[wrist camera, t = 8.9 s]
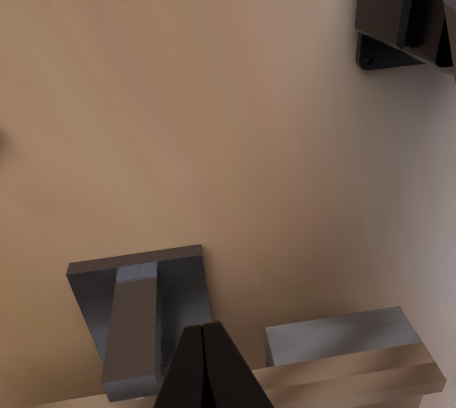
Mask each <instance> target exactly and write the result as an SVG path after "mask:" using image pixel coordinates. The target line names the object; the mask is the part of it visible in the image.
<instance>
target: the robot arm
mask: <svg viewBox="0 0 456 408" xmlns="http://www.w3.org/2000/svg"><path fill="white" fill-rule="evenodd" d="M355 28H356V29H357V30H358V31H359V32H358V42H357V52H356V63H357V65H358V66H359V67H360V68H362V69H364V70H375V69H383V68H392V67H400V66H409V65H417V64H428V65H430V66H432V67H435V68H437V69H439V70H441V71H444V72H446V73H448V74H450V75H452V76H455V80H456V0H357V10H356V20H355ZM369 54H370V55H371V58H370V60H369V61H368V62H367V63H364V59H365V57H366V56H367V55H369ZM153 408H275V407H274V406H273V404H272V403H271V401H270V399H269V398H268V396H267V395H266V393H265V392H264V390H263V388H262V387H261V385H260V384H259V382H258V380H257V379H256V377H255V376H254V374H253V372H252V371H251V369H250V368H249V366H248V365H247V363H246V361H245V360H244V358H243V357H242V355H241V353H240V352H239V350H238V349H237V347H236V345H235V344H234V342H233V341H232V339H231V338H230V336H229V334H228V333H227V331H226V330H225V328H224V326H223V325H222V323H221V322H220V321H212V322H205V323H204V324H203V326H202V325H201V324H193V325H187V326H185V327H184V328H183V330H182V333H181V335H180V338H179V340H178V343H177V346H176V348H175V351H174V353H173V356H172V359H171V361H170V364H169V366H168V369H167V372H166V374H165V377H164V380H163V382H162V385H161V387H160V390H159V393H158V395H157V398H156V400H155V403H154V406H153Z"/></svg>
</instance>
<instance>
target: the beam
mask: <svg viewBox="0 0 456 408" xmlns="http://www.w3.org/2000/svg"><path fill="white" fill-rule="evenodd" d="M265 343H266V368H260V369H254V370H251V371H252V372H253V374H254V376H255V377H256V379H257V380H258V382H259V384H260V385H261V387H262V388H263V390H264V392H265V393H266V395H267V396H268V398H269V399H270V401H271V403H272V404H273V406H274V407H275V408H418V407H419V404H420V401H421V399H422V396H423V395H425V394H431V393H437V392H442V390H443V388H444V385H445V383H446V378H445V377H444V375H443V374H442V372H441V371H440V369H439V367H438V366H437V364H436V363H435V361H434V360H433V358H432V357H431V355H430V353H429V352H428V350H427V349H426V347H425V346H424V344H423V343H422V341H421V339H420V338H419V336H418V335H417V333H416V332H415V330H414V329H413V327H412V325H411V324H410V322H409V321H408V319H407V318H406V316H405V315H404V313H403V311H402V310H401V308H400V307H399V306H398V307H392V308H385V309H379V310H373V311H366V312H360V313H353V314H347V315H340V316H334V317H328V318H321V319H315V320H308V321H302V322H296V323H289V324H283V325H276V326H270V327H265ZM160 387H161V386H160ZM156 398H157V395H152V396H146V397H140V398H134V399H128V400H122V401H117V402H111V403H110V402H109V400H108V398H107V396H106V394H101V395H95V396H88V397H82V398H76V399H70V400H64V401H58V402H52V403H45V404H39V405H33V406H27V407H21V408H153V406H154V403H155V400H156Z"/></svg>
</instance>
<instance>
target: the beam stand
mask: <svg viewBox="0 0 456 408" xmlns="http://www.w3.org/2000/svg"><path fill="white" fill-rule="evenodd" d="M66 276H67V278H68V281H69V283H70V285H71V288H72V290H73V293H74V295H75V297H76V300H77V302H78V305H79V307H80V309H81V312H82V314H83V316H84V319H85V321H86V324H87V326H88V328H89V331H90V333H91V335H92V338H93V340H94V343H95V345H96V347H97V350H98V352H99V354H100V357H101V359H102V362H103V364H104V367H103V373H102V380H101V384H102V387H103V389H104V391H105V393H106V396H107V398H108V400H109V402H110V403H111V402H117V401H122V400H128V399H134V398H140V397H146V396H152V395H158V393H159V390H160V386H161V385H162V382H163V380H164V377H165V374H166V372H167V369H168V366H169V364H170V361H171V359H172V356H173V353H174V351H175V348H176V346H177V343H178V340H179V338H180V335H181V333H182V330H183V328H184V327H185V326H187V325H193V324H201V325H202V326H203V324H204V323H205V322H212V318H211V311H210V305H209V298H208V291H207V284H206V278H205V271H204V264H203V257H202V251H201V244H200V245H193V246H186V247H179V248H172V249H166V250H159V251H152V252H145V253H138V254H131V255H124V256H117V257H110V258H103V259H97V260H90V261H83V262H76V263H69V267H68V270H67V273H66Z"/></svg>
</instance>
